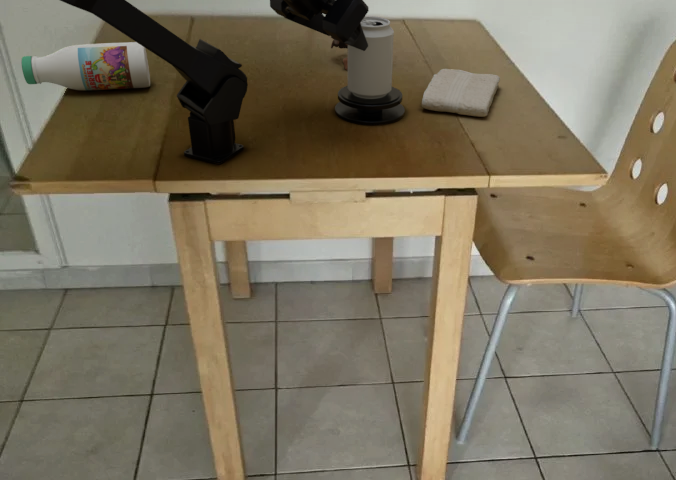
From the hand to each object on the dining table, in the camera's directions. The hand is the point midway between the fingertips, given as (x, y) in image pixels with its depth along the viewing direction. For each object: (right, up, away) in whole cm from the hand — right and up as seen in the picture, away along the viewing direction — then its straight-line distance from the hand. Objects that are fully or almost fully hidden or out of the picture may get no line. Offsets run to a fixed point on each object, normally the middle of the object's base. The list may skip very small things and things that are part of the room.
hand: (348, 40), depth 113 cm
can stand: (+3, -9, +10) cm, 14 cm away
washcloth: (+19, -5, +17) cm, 26 cm away
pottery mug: (0, +6, +31) cm, 32 cm away
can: (+3, -6, +8) cm, 11 cm away
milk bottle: (-36, 0, +13) cm, 39 cm away
